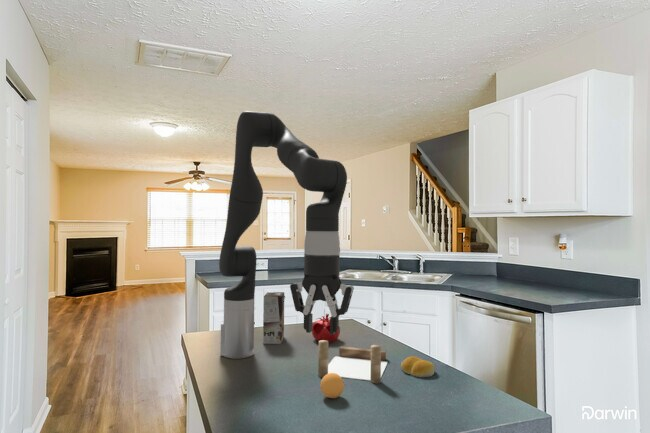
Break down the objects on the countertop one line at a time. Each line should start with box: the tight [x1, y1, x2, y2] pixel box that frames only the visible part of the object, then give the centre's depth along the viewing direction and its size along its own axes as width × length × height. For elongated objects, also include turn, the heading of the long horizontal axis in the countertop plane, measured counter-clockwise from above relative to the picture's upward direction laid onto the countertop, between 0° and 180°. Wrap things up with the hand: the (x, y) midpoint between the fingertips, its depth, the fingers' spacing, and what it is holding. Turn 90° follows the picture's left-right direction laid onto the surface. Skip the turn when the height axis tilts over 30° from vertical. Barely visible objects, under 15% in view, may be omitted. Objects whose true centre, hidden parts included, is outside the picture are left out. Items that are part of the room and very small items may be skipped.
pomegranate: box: [311, 313, 341, 343], centre depth 146 cm, size 10×10×9 cm
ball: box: [320, 373, 345, 399], centre depth 98 cm, size 6×6×6 cm
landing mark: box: [328, 355, 388, 382], centre depth 117 cm, size 16×16×1 cm
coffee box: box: [262, 291, 285, 345], centre depth 145 cm, size 9×6×16 cm
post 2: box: [370, 344, 382, 384], centre depth 108 cm, size 3×3×9 cm
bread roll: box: [400, 355, 436, 378], centre depth 115 cm, size 8×9×4 cm
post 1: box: [317, 340, 329, 378], centre depth 112 cm, size 3×3×9 cm
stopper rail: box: [338, 345, 387, 362], centre depth 127 cm, size 14×2×2 cm, turn 74°
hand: (321, 332), depth 89 cm, fingers open, 4 cm apart
